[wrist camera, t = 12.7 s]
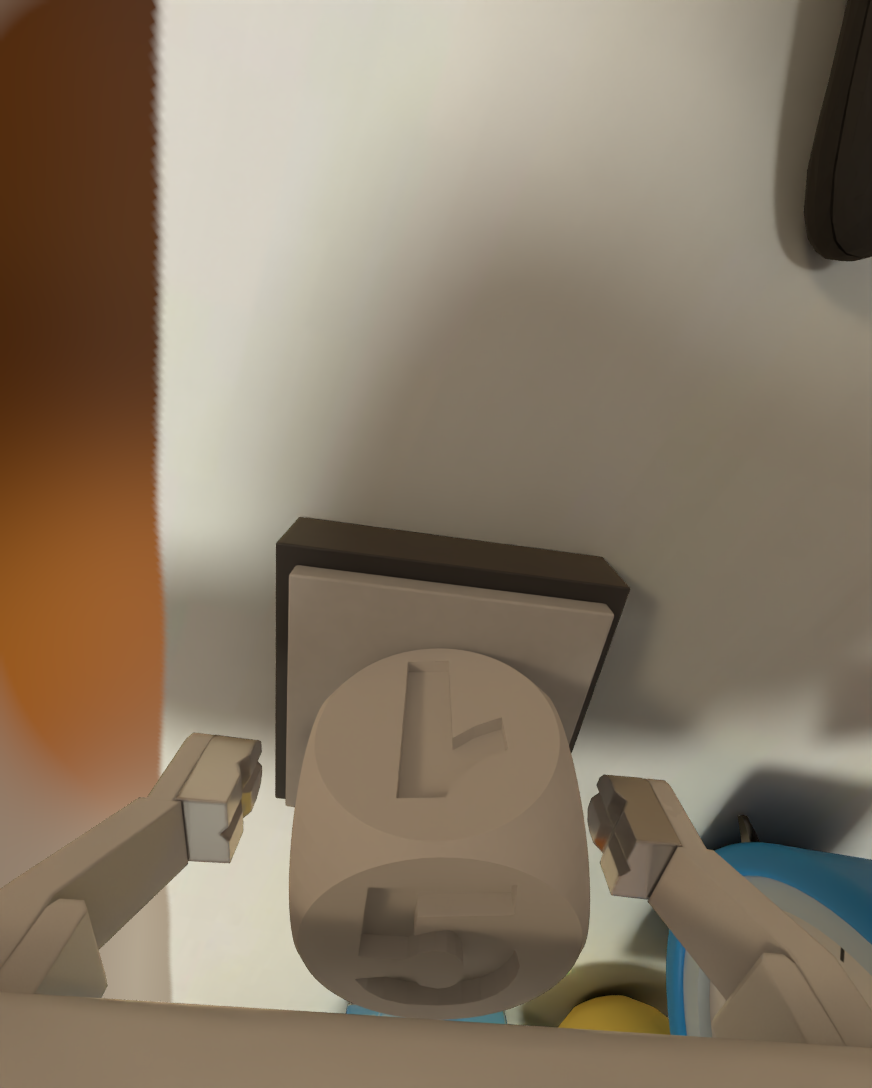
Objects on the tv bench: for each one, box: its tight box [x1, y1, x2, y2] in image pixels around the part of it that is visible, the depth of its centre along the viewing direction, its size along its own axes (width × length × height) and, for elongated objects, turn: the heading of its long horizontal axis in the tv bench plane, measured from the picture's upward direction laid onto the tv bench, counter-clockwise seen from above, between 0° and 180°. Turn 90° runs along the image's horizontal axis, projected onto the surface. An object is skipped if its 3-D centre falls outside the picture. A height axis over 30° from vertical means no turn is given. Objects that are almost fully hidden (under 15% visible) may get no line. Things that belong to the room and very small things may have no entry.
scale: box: [275, 517, 630, 807], centre depth 13 cm, size 9×9×3 cm
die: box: [289, 648, 590, 1020], centre depth 9 cm, size 5×5×5 cm
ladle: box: [558, 995, 670, 1035], centre depth 21 cm, size 9×26×6 cm, turn 90°
